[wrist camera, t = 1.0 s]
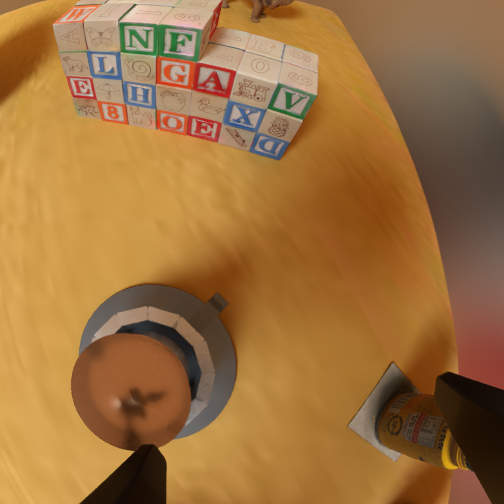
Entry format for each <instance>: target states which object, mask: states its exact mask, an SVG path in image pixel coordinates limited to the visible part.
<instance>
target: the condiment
mask: <svg viewBox="0 0 504 504" xmlns="http://www.w3.org/2000/svg"><path fill="white" fill-rule="evenodd" d="M373 415H374V419H373ZM373 420H375V422H373ZM348 427H349V428H350V429H352V430H353V431H354V432H356V433H357V434H358V435H360V436H361V437H362V438H364V439H365V440H366V441H368V442H369V443H370V444H372V445H373V446H374V447H376V448H377V449H378V450H380V451H381V452H382V453H384V454H385V455H387V456H388V457H389V458H391V459H392V460H394V461H395V462H396V461H397V459H398V458H399V456H400V455H401V454H404V455H407V456H409V457H412V458H415V459H418V460H421V461H424V462H427V463H430V464H433V465H435V466H438V467H442V468H445V469H457V468H461V469H464V470H466V469H468V470H471V471H473V469H472V468H471V466H470V464H469V463H468V461H467V459H466V458H465V456H464V454H463V453H462V451H461V449H460V448H459V446H458V444H457V443H456V441H455V440H454V438H453V436H452V434H451V432H450V430H449V428H448V426H447V424H446V422H445V420H444V418H443V416H442V413H441V411H440V409H439V407H438V405H437V403H436V401H435V398H434V395H426V394H422V393H421V392H420V391H419V390H418V389H417V388H416V387H415V386H414V385H413V383H412V382H411V381H410V380H409V379H408V378H407V377H406V376H405V375H404V374H403V373H402V372H401V371H400V370H399V368H398V367H397V366H396V365H395V364H394V363H392V364H391V366H390V367H389V369H388V370H387V371H386V373H385V374H384V376H383V377H382V379H381V380H380V382H379V383H378V384H377V386H376V387H375V389H374V390H373V392H372V393H371V395H370V396H369V397H368V398H367V400H366V402H365V403H364V405H363V406H362V408H361V409H360V410H359V411H358V413H357V414H356V415H355V417H354V419H353V420H352V421H351V423H350V424H349V425H348ZM473 472H474V471H473Z"/></svg>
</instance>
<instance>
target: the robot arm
mask: <svg viewBox="0 0 504 504" xmlns="http://www.w3.org/2000/svg"><path fill="white" fill-rule="evenodd" d="M434 398H435V401H436V403H437V405H438V407H439V409H440V411H441V413H442V416H443V418H444V420H445V422H446V424H447V426H448V428H449V430H450V432H451V434H452V436H453V438H454V440H455V441H456V443H457V444H458V446H459V448H460V449H461V451H462V453H463V454H464V456H465V458H466V459H467V461H468V463H469V464H470V466H471V468H472V469H473V471H474V473H475V474H476V476H477V478H478V480H479V481H480V483H481V485H482V487H483V488H484V490H485V492H486V494H487V496H488V497H489V499H490V501H491V503H492V504H504V390H502V389H499V388H496V387H493V386H489V385H487V384H484V383H481V382H478V381H475V380H472V379H469V378H466V377H463V376H460V375H457V374H455V373H452V372H445V373H443V374H441V375H439V376H438V377H437V379H436V385H435V392H434ZM166 475H167V464H166V460H165V458H164V456H163V455H162V454H161V452H160V451H159V449H158V448H157V447H156V445H154V444H142V445H141V446H140V447H139V448H138V449H137V450H136V451H135V452H134V453H133V454H132V455H131V456H130V457H129V458H128V459H127V460H126V461H125V462H123V463H122V464H121V465H120V466H119V467H118V468H117V469H116V470H115V471H114V472H113V473H112V474H111V475H110V476H109V477H108V478H107V479H106V480H105V481H104V482H102V483H101V484H100V485H99V486H98V487H97V488H96V489H95V490H94V491H93V492H92V493H91V494H89V495H88V496H87V497H86V498H85V499H84V500H83V501H82V502H81V503H79V504H166Z"/></svg>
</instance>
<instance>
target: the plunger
mask: <svg viewBox="0 0 504 504" xmlns="http://www.w3.org/2000/svg"><path fill="white" fill-rule="evenodd" d="M189 374H190V372H189V365H188V362H187V359H186V356H185V355H184V353H183V351H182V350H181V348H180V347H179V346H178V345H177V344H176V343H175V342H174V341H173V340H171V339H170V338H168V337H166V336H164V335H161V334H158V333H154V332H140V333H136V334H129V333H118V334H111V335H108V336H104V337H102V338H100V339H97V340H96V341H94V342H93V343H91V344H90V345H89V346H88V347H86V348H85V349H84V351H83V352H82V353H81V354H80V356H79V358H78V359H77V361H76V363H75V366H74V369H73V372H72V379H71V391H72V397H73V401H74V405H75V407H76V410H77V412H78V414H79V415H80V417H81V419H82V420H83V422H84V423H85V425H86V426H87V427H88V428H89V429H90V430H91V431H92V432H93V433H94V434H95V435H96V436H97V437H99V438H100V439H102V440H103V441H105V442H107V443H109V444H110V445H113V446H115V447H118V448H121V449H125V450H131V451H136V450H137V449H138V448H139V447H140V446H141V445H142V444H154V445H156V447H157V448H159V447H161V446H163V445H165V444H167V443H168V442H170V441H171V440H173V439H174V438H175V437H176V436H177V435H178V434H179V433H180V432H181V430H182V429H183V427H184V426H185V424H186V422H187V419H188V416H189V413H190V408H191V392H190V386H189Z"/></svg>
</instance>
